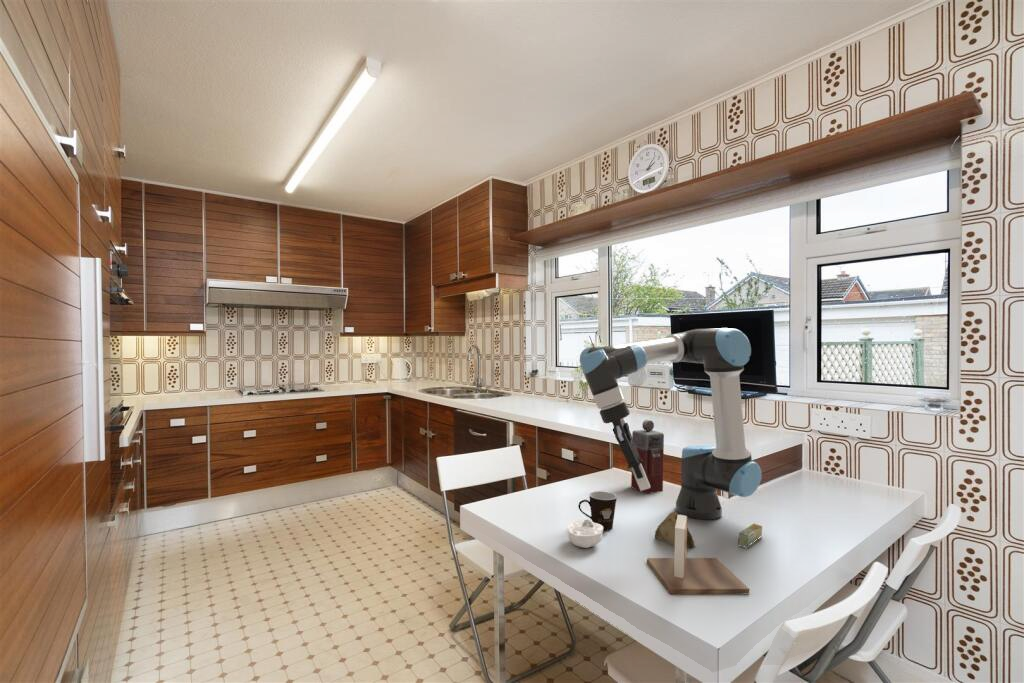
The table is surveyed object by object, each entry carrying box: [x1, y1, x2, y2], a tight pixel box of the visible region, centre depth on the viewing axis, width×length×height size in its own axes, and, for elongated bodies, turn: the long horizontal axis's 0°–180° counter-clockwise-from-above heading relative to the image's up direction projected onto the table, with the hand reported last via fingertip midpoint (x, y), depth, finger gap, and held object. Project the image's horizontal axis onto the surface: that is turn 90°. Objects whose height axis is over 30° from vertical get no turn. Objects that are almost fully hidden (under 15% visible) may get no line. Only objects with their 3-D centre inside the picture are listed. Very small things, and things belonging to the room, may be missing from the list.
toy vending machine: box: [630, 419, 665, 494], centre depth 190 cm, size 9×11×28 cm
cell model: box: [567, 518, 604, 549], centre depth 136 cm, size 10×12×7 cm
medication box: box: [737, 523, 763, 548], centre depth 141 cm, size 12×3×4 cm, turn 134°
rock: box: [654, 511, 696, 549], centre depth 140 cm, size 11×9×10 cm
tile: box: [673, 514, 688, 578], centre depth 120 cm, size 2×10×12 cm, turn 157°
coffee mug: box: [577, 490, 618, 532], centre depth 150 cm, size 12×9×10 cm
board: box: [646, 557, 750, 595], centre depth 118 cm, size 19×16×1 cm
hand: (645, 488), depth 125 cm, fingers closed
